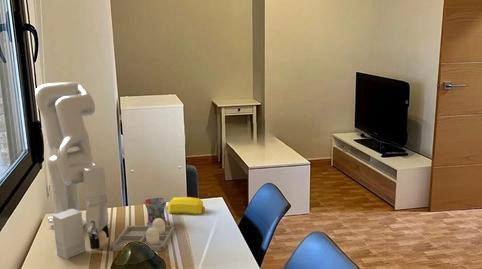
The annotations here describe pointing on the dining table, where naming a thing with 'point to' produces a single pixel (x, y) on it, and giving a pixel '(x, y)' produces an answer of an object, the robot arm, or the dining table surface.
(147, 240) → the far egg
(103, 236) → the egg
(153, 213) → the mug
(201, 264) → the dining table surface
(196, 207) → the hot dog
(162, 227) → the egg
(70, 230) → the skincare box
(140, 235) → the carton
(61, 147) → the robot arm
